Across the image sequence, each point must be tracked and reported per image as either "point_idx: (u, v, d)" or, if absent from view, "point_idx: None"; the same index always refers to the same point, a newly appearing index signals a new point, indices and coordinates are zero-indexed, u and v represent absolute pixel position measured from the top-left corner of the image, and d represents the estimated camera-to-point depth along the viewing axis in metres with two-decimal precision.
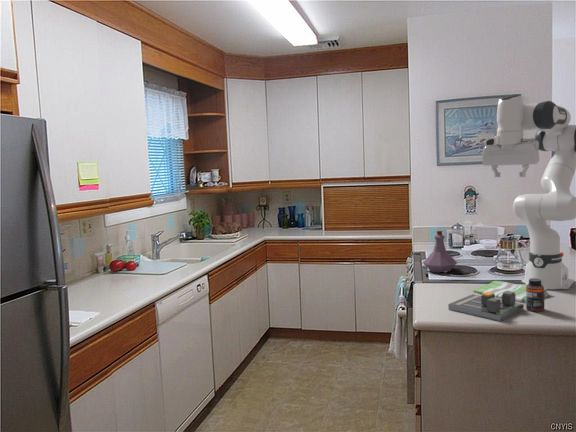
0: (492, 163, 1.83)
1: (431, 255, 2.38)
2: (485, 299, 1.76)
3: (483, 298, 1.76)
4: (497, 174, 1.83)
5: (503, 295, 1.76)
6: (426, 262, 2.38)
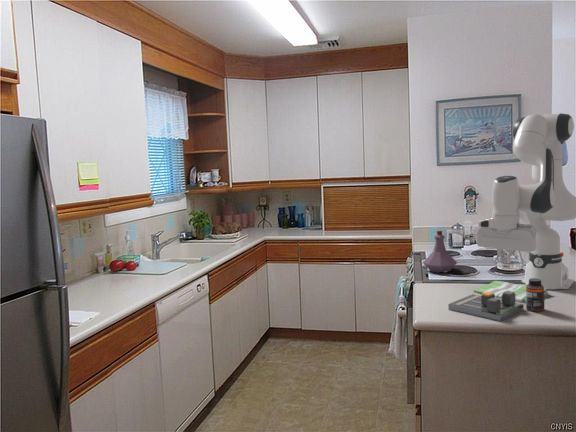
0: (487, 245, 1.73)
1: (431, 255, 2.38)
2: (485, 299, 1.76)
3: (483, 298, 1.76)
4: (503, 258, 1.70)
5: (503, 295, 1.76)
6: (426, 262, 2.38)
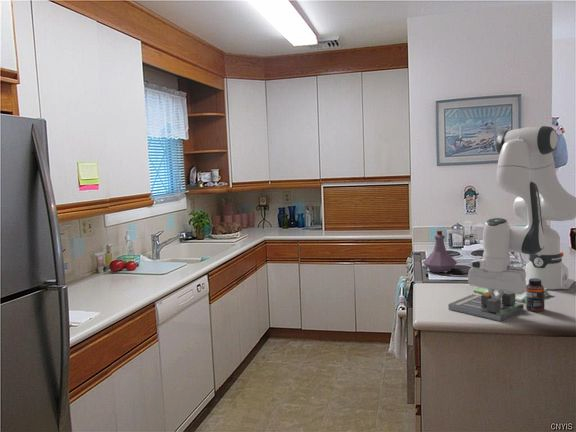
0: (478, 285, 1.77)
1: (431, 255, 2.38)
2: (485, 299, 1.76)
3: (483, 298, 1.76)
4: None
5: (503, 295, 1.76)
6: (426, 262, 2.38)
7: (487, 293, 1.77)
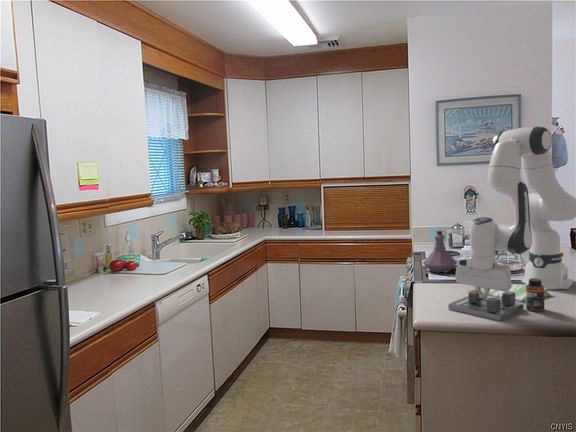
0: (465, 283, 1.81)
1: (431, 255, 2.38)
2: (472, 296, 1.80)
3: (471, 295, 1.80)
4: (481, 296, 1.78)
5: (503, 295, 1.76)
6: (426, 262, 2.38)
7: (474, 291, 1.81)
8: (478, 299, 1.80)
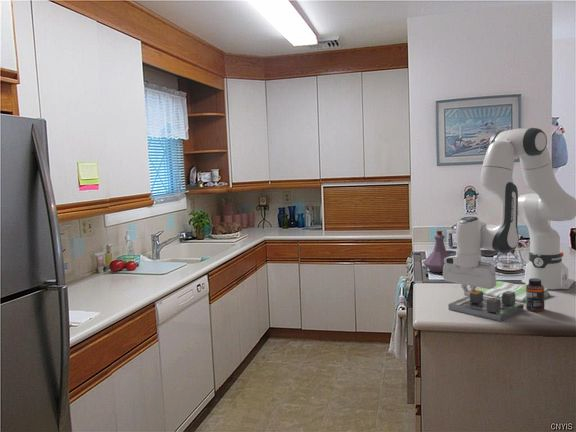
0: (452, 280, 1.86)
1: (431, 255, 2.38)
2: (473, 297, 1.79)
3: (472, 296, 1.80)
4: (467, 293, 1.83)
5: (503, 295, 1.76)
6: (426, 262, 2.38)
7: (476, 291, 1.80)
8: (479, 299, 1.79)
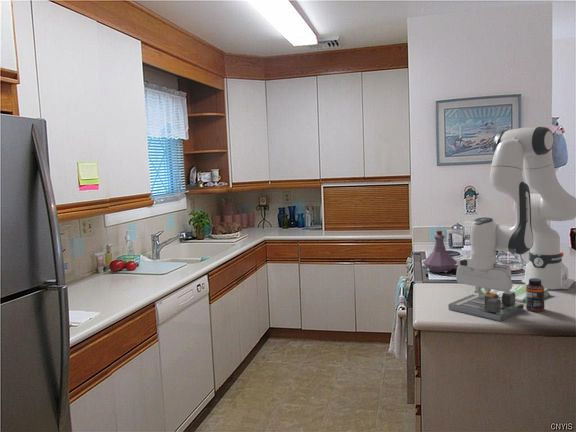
0: (466, 283, 1.81)
1: (431, 255, 2.38)
2: None
3: (487, 299, 1.75)
4: (481, 296, 1.78)
5: (503, 295, 1.76)
6: (426, 262, 2.38)
7: (490, 294, 1.76)
8: None
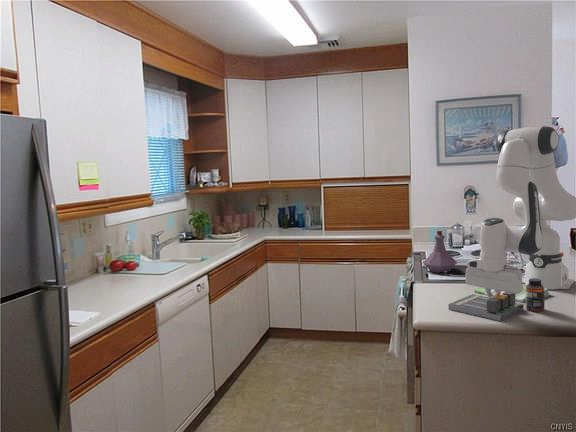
0: (475, 284, 1.78)
1: (431, 255, 2.38)
2: None
3: None
4: None
5: None
6: (426, 262, 2.38)
7: (501, 296, 1.73)
8: (505, 304, 1.72)
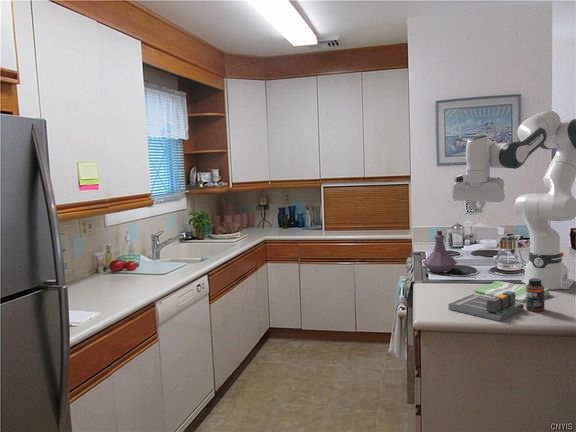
0: (462, 199, 1.93)
1: (431, 255, 2.38)
2: None
3: None
4: (476, 210, 1.90)
5: None
6: (426, 262, 2.38)
7: (501, 296, 1.73)
8: (505, 304, 1.72)
